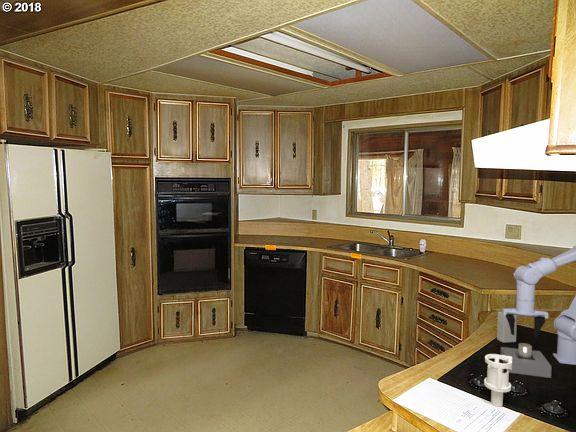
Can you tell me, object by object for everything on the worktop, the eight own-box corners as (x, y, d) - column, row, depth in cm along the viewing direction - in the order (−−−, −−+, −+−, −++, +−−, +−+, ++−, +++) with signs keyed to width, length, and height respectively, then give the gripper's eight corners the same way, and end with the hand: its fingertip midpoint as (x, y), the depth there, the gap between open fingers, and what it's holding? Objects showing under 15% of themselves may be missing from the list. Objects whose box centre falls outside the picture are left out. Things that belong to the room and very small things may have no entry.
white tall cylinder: (512, 412, 113) (514, 362, 112) (484, 407, 116) (486, 358, 115) (508, 400, 120) (510, 352, 119) (482, 395, 122) (484, 348, 121)
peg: (528, 362, 143) (529, 343, 143) (532, 367, 140) (533, 348, 139) (516, 360, 144) (517, 342, 144) (519, 365, 141) (520, 346, 140)
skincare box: (509, 338, 168) (510, 310, 168) (516, 342, 164) (517, 314, 163) (496, 339, 168) (497, 311, 167) (502, 343, 163) (503, 314, 163)
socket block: (539, 361, 146) (540, 351, 146) (550, 377, 134) (551, 366, 133) (500, 357, 150) (500, 346, 150) (507, 372, 138) (508, 361, 137)
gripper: (544, 297, 147) (543, 333, 148) (501, 294, 151) (499, 329, 152) (550, 303, 140) (549, 340, 141) (505, 299, 144) (504, 336, 145)
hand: (524, 335), depth 146 cm, fingers open, 7 cm apart
